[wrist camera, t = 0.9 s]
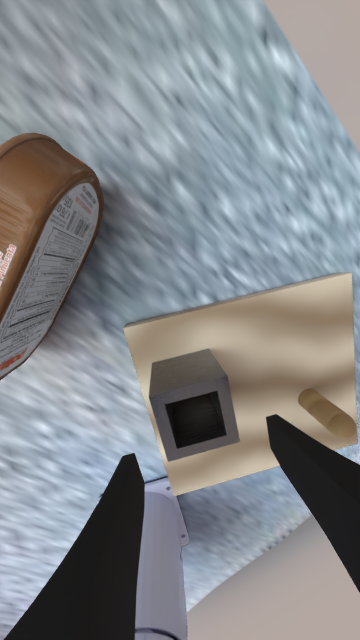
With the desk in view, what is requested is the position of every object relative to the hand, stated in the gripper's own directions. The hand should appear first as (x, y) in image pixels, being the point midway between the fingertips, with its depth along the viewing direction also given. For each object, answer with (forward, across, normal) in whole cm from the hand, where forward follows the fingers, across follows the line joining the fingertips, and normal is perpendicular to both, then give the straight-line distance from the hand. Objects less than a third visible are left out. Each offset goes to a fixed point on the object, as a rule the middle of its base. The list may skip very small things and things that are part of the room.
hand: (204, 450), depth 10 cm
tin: (+9, +8, -11) cm, 16 cm away
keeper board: (+9, -6, +3) cm, 11 cm away
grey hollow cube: (+7, 0, 0) cm, 7 cm away
